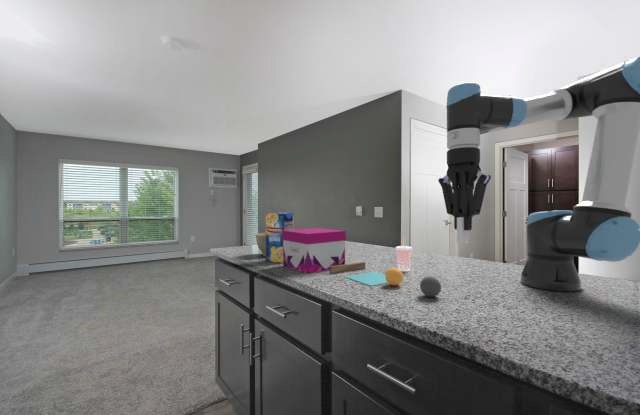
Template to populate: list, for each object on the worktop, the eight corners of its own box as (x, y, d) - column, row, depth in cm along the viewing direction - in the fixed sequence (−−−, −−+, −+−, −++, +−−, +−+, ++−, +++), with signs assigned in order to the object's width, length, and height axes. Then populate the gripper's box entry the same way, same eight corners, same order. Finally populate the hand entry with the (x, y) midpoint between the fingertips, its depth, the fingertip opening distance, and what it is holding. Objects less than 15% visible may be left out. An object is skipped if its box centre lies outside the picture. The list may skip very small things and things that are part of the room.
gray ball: (445, 297, 84) (445, 277, 84) (432, 300, 81) (432, 280, 81) (429, 292, 89) (428, 273, 89) (415, 295, 86) (415, 276, 86)
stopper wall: (365, 268, 122) (365, 262, 122) (331, 273, 114) (331, 267, 114) (363, 268, 123) (363, 262, 123) (330, 273, 115) (329, 266, 115)
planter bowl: (250, 257, 149) (250, 235, 149) (262, 252, 165) (262, 232, 165) (282, 258, 146) (282, 235, 146) (291, 253, 162) (291, 232, 162)
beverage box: (284, 263, 134) (284, 213, 133) (265, 261, 140) (265, 213, 139) (294, 261, 139) (293, 212, 139) (275, 258, 145) (275, 212, 145)
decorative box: (282, 265, 129) (282, 230, 129) (318, 260, 140) (318, 228, 140) (307, 274, 114) (307, 233, 114) (346, 267, 125) (345, 230, 125)
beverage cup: (405, 272, 115) (405, 235, 114) (392, 269, 119) (392, 234, 119) (415, 270, 118) (415, 234, 118) (402, 267, 123) (401, 233, 123)
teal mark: (402, 280, 103) (402, 279, 103) (370, 286, 96) (370, 285, 96) (375, 272, 115) (375, 271, 115) (344, 277, 108) (344, 276, 108)
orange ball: (406, 285, 96) (406, 268, 96) (394, 288, 93) (394, 270, 93) (394, 282, 101) (394, 265, 101) (381, 284, 98) (381, 267, 98)
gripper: (431, 151, 80) (431, 241, 80) (479, 142, 68) (479, 247, 69) (449, 153, 84) (449, 239, 84) (498, 145, 72) (497, 245, 73)
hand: (462, 243), depth 76 cm, fingers closed
